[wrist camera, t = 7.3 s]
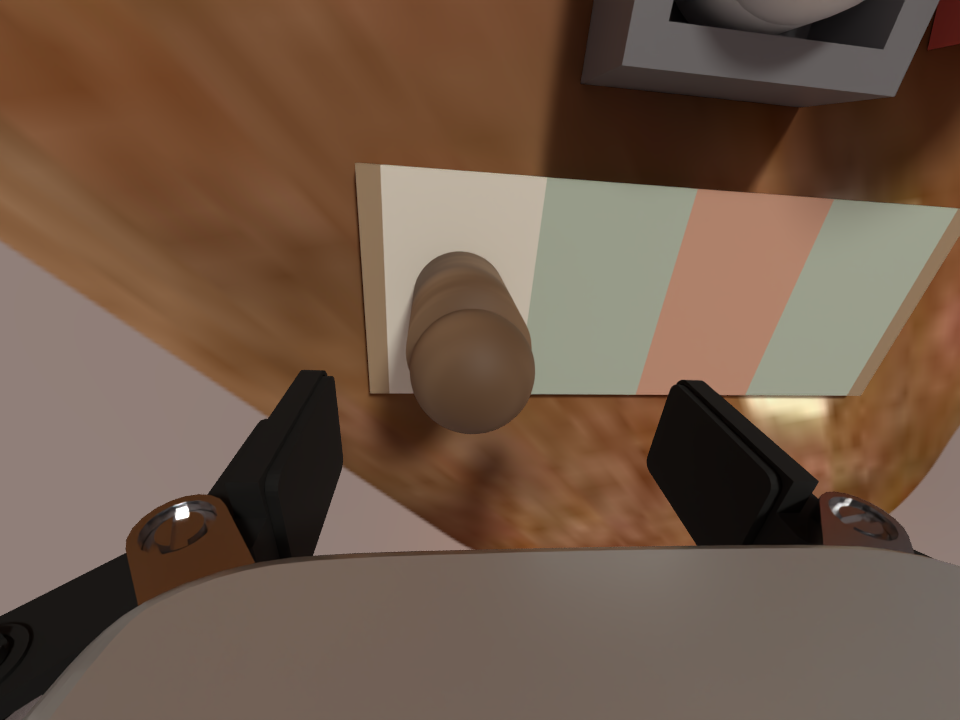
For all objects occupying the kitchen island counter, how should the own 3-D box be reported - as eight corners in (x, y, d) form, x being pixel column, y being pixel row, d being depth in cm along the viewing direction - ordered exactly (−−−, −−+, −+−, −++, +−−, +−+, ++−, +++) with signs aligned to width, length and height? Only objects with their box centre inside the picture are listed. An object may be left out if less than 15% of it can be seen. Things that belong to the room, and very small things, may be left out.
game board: (371, 387, 22) (370, 393, 21) (357, 162, 16) (354, 162, 16) (851, 390, 25) (860, 395, 25) (961, 208, 20) (975, 210, 20)
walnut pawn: (413, 337, 20) (399, 467, 12) (413, 248, 18) (396, 331, 10) (500, 339, 20) (544, 465, 12) (509, 253, 18) (569, 336, 10)
